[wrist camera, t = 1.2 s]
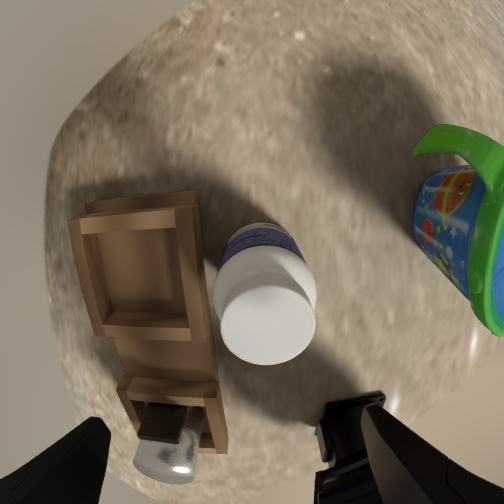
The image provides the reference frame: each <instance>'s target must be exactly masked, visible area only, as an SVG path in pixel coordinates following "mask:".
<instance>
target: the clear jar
mask: <svg viewBox="0 0 504 504" xmlns="http://www.w3.org/2000/svg"><path fill="white" fill-rule="evenodd" d="M203 419H204V413H203V410H202V409H201V407H200V406H188V405H174V404H163V403H153V402H149V403H148V406H147V409H146V411H145V414H144V417H143V419H142V422H141V425H140V427H139V430H138V433H137V436H138V438H139V439H141V440H140V443H139V446H138V449H137V452H136V455H135V458H134V461H133V464H134V466H135V467H136V469H138V470H139V471H140V472H141V473H143V474H144V475H146V476H148V477H150V478H152V479H155V480H157V481H160V482H164V483H169V484H187V483H190V482H192V481H193V479H194V474H195V467H196V461H197V455H198V449H199V443H200V437H201V431H202V425H203Z"/></svg>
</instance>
